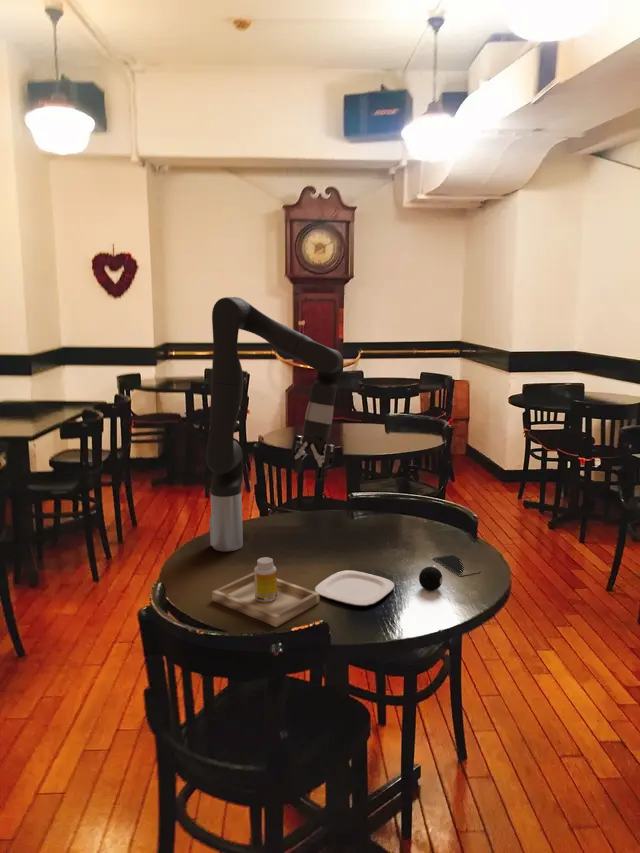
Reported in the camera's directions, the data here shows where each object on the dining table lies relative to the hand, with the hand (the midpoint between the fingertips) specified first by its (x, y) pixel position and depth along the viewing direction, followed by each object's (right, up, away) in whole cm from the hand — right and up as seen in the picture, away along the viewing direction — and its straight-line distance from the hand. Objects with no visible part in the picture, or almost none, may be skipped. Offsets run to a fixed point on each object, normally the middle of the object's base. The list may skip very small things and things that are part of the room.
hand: (308, 476), depth 189 cm
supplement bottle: (-10, -30, -19) cm, 36 cm away
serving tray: (-10, -30, -19) cm, 37 cm away
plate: (+12, -30, -13) cm, 34 cm away
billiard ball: (+32, -29, -12) cm, 45 cm away
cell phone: (+42, -26, +3) cm, 49 cm away
